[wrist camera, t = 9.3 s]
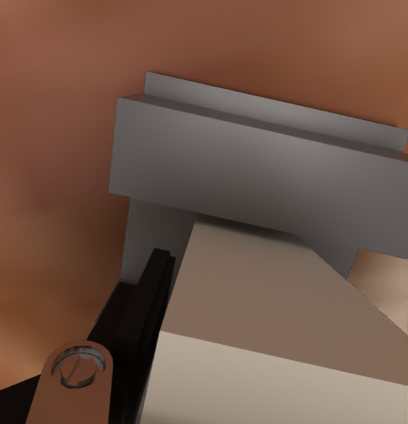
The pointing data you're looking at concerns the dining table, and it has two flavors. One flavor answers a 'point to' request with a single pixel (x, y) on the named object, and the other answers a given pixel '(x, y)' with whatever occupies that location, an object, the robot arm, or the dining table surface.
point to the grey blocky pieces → (254, 174)
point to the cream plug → (271, 338)
